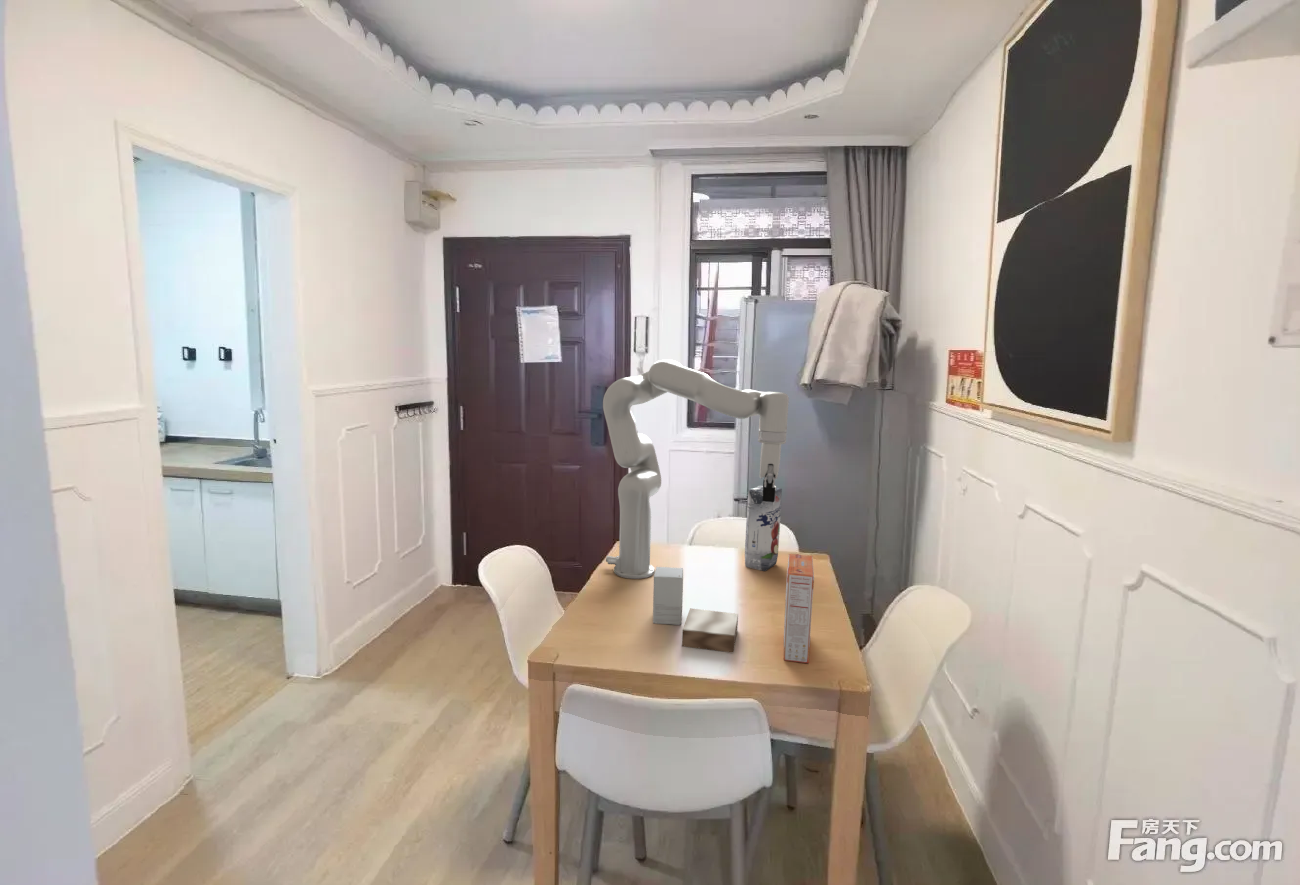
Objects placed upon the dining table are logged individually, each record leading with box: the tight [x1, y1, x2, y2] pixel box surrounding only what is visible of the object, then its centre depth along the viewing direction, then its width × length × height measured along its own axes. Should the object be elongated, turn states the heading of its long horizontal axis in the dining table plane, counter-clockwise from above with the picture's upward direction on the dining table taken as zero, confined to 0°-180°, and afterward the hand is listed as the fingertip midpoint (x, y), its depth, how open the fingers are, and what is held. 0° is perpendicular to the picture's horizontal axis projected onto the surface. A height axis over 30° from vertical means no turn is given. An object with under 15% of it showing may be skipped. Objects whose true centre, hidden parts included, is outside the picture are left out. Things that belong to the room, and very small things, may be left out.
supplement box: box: [652, 566, 684, 626], centre depth 160 cm, size 7×7×13 cm
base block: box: [681, 608, 739, 654], centre depth 150 cm, size 12×12×4 cm
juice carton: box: [744, 484, 783, 572], centre depth 200 cm, size 9×10×27 cm
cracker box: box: [783, 553, 815, 664], centre depth 145 cm, size 14×6×21 cm, turn 167°
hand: (768, 497), depth 175 cm, fingers open, 9 cm apart
